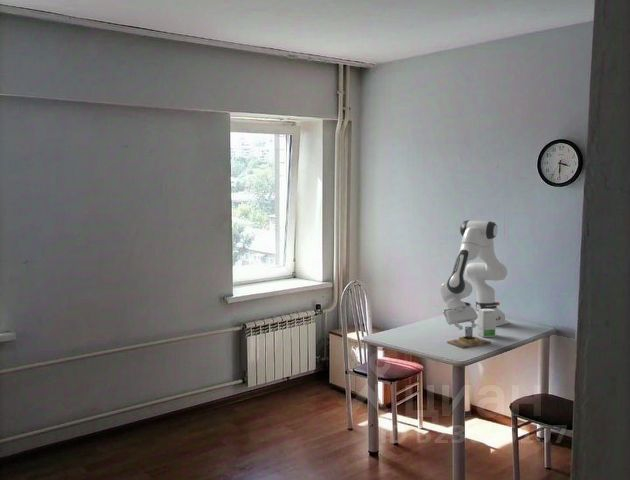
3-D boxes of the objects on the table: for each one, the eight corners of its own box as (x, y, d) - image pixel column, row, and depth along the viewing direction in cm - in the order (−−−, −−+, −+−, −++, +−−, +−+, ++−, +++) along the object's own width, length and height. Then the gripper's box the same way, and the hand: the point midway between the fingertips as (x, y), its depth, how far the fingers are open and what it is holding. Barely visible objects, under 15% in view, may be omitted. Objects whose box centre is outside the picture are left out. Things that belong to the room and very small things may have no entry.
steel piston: (469, 340, 335) (469, 326, 334) (474, 341, 331) (474, 327, 331) (463, 341, 333) (463, 327, 332) (468, 342, 330) (468, 328, 329)
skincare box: (482, 337, 344) (483, 311, 342) (477, 334, 350) (477, 308, 349) (496, 336, 345) (496, 310, 344) (490, 333, 352) (490, 308, 350)
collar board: (474, 338, 342) (474, 333, 342) (490, 343, 331) (490, 338, 331) (447, 342, 334) (447, 337, 333) (462, 348, 322) (462, 343, 322)
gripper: (444, 306, 334) (455, 327, 326) (472, 302, 343) (484, 322, 335) (439, 313, 338) (450, 333, 330) (467, 309, 347) (478, 328, 339)
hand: (467, 328), depth 333 cm, fingers open, 8 cm apart
